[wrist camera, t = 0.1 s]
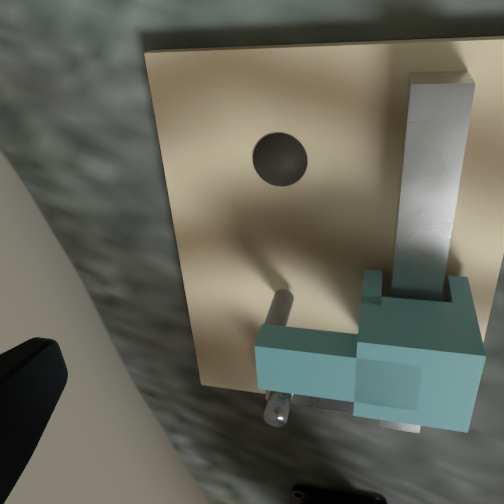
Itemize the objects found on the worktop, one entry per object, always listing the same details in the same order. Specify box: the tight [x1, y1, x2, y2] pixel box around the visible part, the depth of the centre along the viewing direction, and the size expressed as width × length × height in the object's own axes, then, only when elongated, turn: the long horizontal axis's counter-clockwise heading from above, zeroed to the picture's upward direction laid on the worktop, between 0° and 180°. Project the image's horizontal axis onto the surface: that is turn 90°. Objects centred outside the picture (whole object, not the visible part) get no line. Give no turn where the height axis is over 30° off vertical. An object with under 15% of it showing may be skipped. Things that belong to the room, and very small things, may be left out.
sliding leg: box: [255, 269, 486, 432], centre depth 21 cm, size 4×9×5 cm, turn 94°
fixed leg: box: [263, 390, 354, 427], centre depth 25 cm, size 2×6×4 cm, turn 94°
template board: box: [144, 36, 504, 394], centre depth 23 cm, size 19×15×1 cm
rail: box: [379, 71, 476, 433], centre depth 21 cm, size 17×2×2 cm, turn 4°
